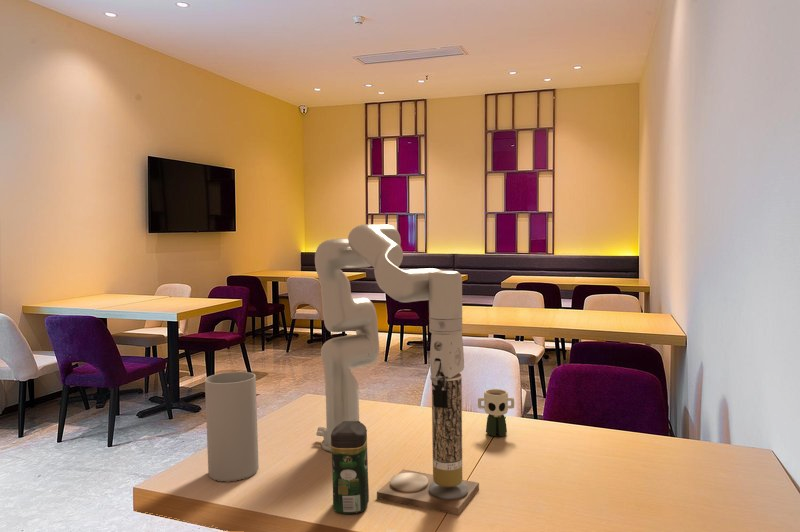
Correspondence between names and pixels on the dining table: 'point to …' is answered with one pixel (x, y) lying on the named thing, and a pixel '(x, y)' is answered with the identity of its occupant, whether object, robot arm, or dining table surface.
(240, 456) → the cylinder vase
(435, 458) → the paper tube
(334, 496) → the coffee jar
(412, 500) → the board
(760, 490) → the dining table surface
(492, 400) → the character mug
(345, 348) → the robot arm
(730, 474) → the dining table surface
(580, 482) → the dining table surface
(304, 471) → the dining table surface
